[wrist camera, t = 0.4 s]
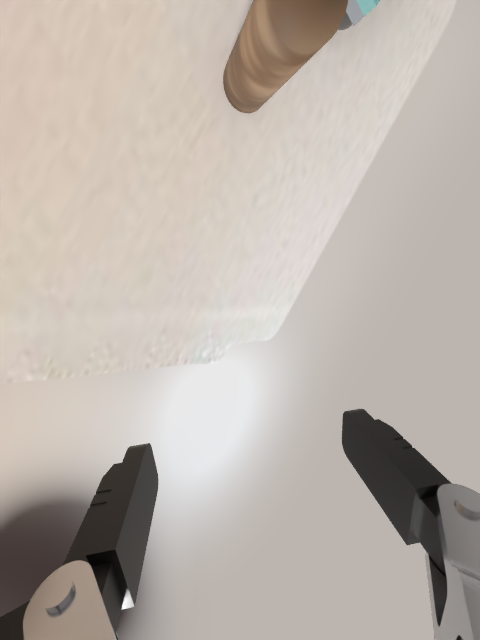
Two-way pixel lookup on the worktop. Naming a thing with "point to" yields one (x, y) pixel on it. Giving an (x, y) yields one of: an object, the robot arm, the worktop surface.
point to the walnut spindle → (277, 46)
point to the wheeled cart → (356, 12)
